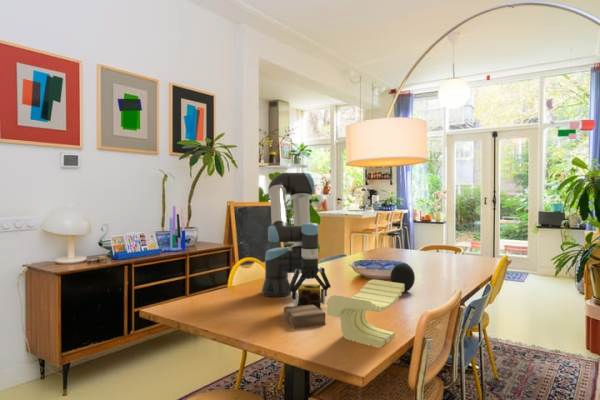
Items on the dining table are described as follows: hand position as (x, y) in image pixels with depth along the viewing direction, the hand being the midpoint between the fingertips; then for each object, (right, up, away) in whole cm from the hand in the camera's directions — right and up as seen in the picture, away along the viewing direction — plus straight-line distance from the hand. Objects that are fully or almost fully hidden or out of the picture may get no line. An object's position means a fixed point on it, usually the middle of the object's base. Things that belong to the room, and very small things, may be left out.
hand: (309, 305), depth 179 cm
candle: (0, -2, +1) cm, 2 cm away
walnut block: (-3, -2, -17) cm, 17 cm away
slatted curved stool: (+20, -3, -34) cm, 40 cm away
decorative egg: (+50, -1, +32) cm, 59 cm away
